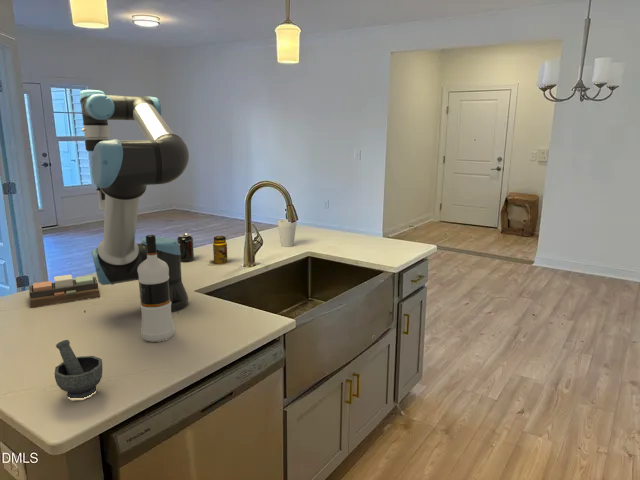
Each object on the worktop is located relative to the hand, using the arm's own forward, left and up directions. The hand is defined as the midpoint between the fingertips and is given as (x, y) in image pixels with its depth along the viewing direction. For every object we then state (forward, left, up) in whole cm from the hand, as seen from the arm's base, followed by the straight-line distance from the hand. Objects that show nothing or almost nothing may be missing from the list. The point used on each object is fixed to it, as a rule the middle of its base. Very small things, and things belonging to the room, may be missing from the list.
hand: (104, 209), depth 162 cm
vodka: (-37, -24, -32) cm, 54 cm away
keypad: (0, +16, -31) cm, 35 cm away
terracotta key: (-2, +22, -29) cm, 36 cm away
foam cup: (+68, -66, -32) cm, 100 cm away
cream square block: (0, +16, -27) cm, 32 cm away
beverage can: (+44, -19, -32) cm, 58 cm away
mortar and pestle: (-66, -13, -32) cm, 74 cm away
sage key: (+3, +10, -29) cm, 31 cm away
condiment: (+39, -34, -32) cm, 61 cm away
